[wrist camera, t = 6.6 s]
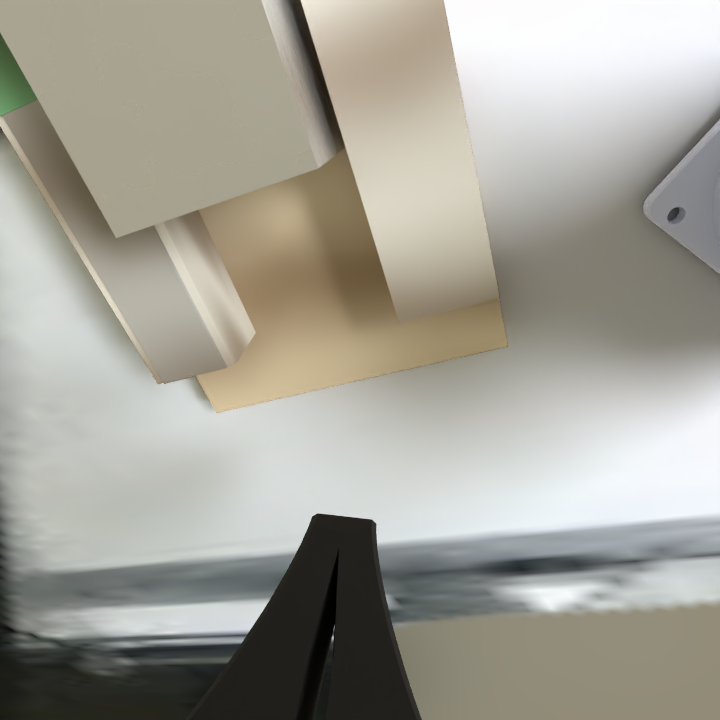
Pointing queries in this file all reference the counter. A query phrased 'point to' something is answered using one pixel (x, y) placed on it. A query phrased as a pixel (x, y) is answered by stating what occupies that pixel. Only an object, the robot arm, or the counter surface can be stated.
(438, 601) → the counter surface
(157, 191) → the grey box
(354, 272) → the stand
